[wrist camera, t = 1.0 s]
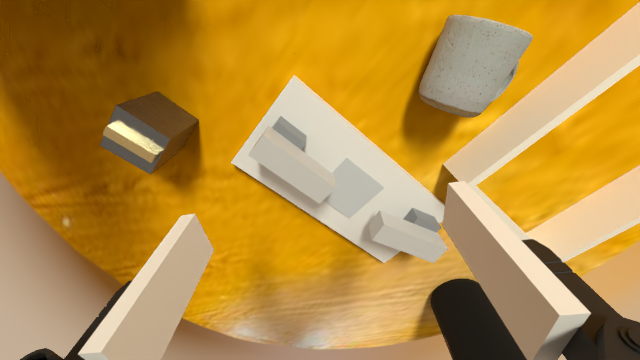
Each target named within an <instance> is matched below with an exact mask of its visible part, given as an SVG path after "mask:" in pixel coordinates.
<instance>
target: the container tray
mask: <svg viewBox="0 0 640 360" xmlns="http://www.w3.org/2000/svg"><path fill="white" fill-rule="evenodd" d="M639 65H640V2H639V3H637V4H636V5H635V6H634V7H633V8H631V9H630V10H629V11H628V12H627V13H625V14H624V15H623V16H622V17H621V18H619V19H618V20H617V21H616V22H614V23H613V24H612V25H611V26H610V27H608V28H607V29H606V30H605V31H604V32H602V33H601V34H600V35H599V36H597V37H596V38H595V39H594V40H593V41H591V42H590V43H589V44H588V45H587V46H585V47H584V48H583V49H582V50H581V51H579V52H578V53H577V54H576V55H574V56H573V57H572V58H571V59H570V60H568V61H567V62H566V63H565V64H564V65H562V66H561V67H560V68H559V69H557V70H556V71H555V72H554V73H553V74H551V75H550V76H549V77H548V78H547V79H545V80H544V81H543V82H542V83H541V84H539V85H538V86H537V87H536V88H534V89H533V90H532V91H531V92H530V93H528V94H527V95H526V96H525V97H524V98H522V99H521V100H520V101H519V102H517V103H516V104H515V105H514V106H513V107H511V108H510V109H509V110H508V111H507V112H505V113H504V114H503V115H502V116H501V117H499V118H498V119H497V120H496V121H494V122H493V123H492V124H491V125H490V126H488V127H487V128H486V129H485V130H484V131H482V132H481V133H480V134H479V135H477V136H476V137H475V138H474V139H473V140H471V141H470V142H469V143H468V144H467V145H465V146H464V147H463V148H462V149H461V150H459V151H458V152H457V153H456V154H454V155H453V156H452V157H451V158H450V159H448V160H447V161H446V162H445V163H444V164H443V165H444V166H445V167H446V168H447V169H448V170H449V172H450V173H451V174H452V175H453V176H454V177H455V178H456V179H457V180H458V181H459V182H460V181H465V182H466V183H467V184H468V186H469V187H470V188H471V189H472V190H473V191H474V192H475V193H476V194H477V195H478V196H479V197H480V198H481V199H482V200H483V201H484V202H485V203H486V204H487V205H488V206H489V207H490V208H491V209H492V210H493V212H494V213H495V214H496V215H497V216H498V217H499V218H500V219H501V220H502V221H503V222H504V223H505V224H506V225H507V226H508V227H509V228H510V229H511V230H512V231H513V232H514V233H515V234H516V235H517V237H518V238H519V239H520V240H527V239H534V240H536V241H538V242H539V243H541V244H543V245H544V246H546V247H548V248H549V249H551V250H552V251H553V252H554V253H555V254H556V255H557V256H558V257H559V258H560V259H561V260H562V262H565V261H567V260H569V259H571V258H573V257H575V256H577V255H579V254H580V253H582V252H584V251H586V250H588V249H590V248H592V247H594V246H596V245H598V244H600V243H602V242H604V241H605V240H607V239H609V238H611V237H613V236H615V235H617V234H619V233H621V232H623V231H625V230H627V229H629V228H631V227H632V226H634V225H636V224H638V223H640V165H639V166H637V167H635V168H634V169H632V170H630V171H629V172H627V173H625V174H624V175H622V176H620V177H619V178H617V179H615V180H614V181H612V182H610V183H609V184H607V185H605V186H604V187H602V188H600V189H599V190H597V191H595V192H594V193H592V194H590V195H589V196H587V197H585V198H584V199H582V200H580V201H579V202H577V203H575V204H574V205H572V206H570V207H569V208H567V209H565V210H564V211H562V212H560V213H559V214H557V215H555V216H554V217H552V218H550V219H549V220H547V221H545V222H544V223H542V224H540V225H539V226H537V227H535V228H534V229H532V230H530V231H529V232H527V233H525V232H524V231H523V230H522V229H521V228H520V227H519V226H518V225H517V224H515V223H514V222H513V221H512V220H511V219H510V218H509V217H508V216H507V215H506V214H505V213H504V212H503V211H502V210H501V209H500V208H499V207H498V206H497V205H496V204H495V203H494V202H493V201H492V200H490V199H489V198H488V197H487V196H486V195H485V194H484V193H483V192H482V191H481V190H480V189H479V188H478V187H477V186H476V185H478V184H479V183H480V182H482V181H483V180H484V179H486V178H487V177H488V176H490V175H491V174H493V173H494V172H495V171H497V170H498V169H499V168H501V167H502V166H503V165H505V164H506V163H507V162H509V161H510V160H512V159H513V158H514V157H516V156H517V155H518V154H520V153H521V152H522V151H524V150H525V149H526V148H528V147H529V146H530V145H532V144H533V143H535V142H536V141H537V140H539V139H540V138H541V137H543V136H544V135H545V134H547V133H548V132H549V131H551V130H552V129H554V128H555V127H556V126H558V125H559V124H560V123H562V122H563V121H564V120H566V119H567V118H568V117H570V116H571V115H573V114H574V113H575V112H577V111H578V110H579V109H581V108H582V107H583V106H585V105H586V104H587V103H589V102H590V101H592V100H593V99H594V98H596V97H597V96H598V95H600V94H601V93H602V92H604V91H605V90H606V89H608V88H609V87H611V86H612V85H613V84H615V83H616V82H617V81H619V80H620V79H621V78H623V77H624V76H625V75H627V74H628V73H629V72H631V71H632V70H634V69H635V68H636V67H638V66H639Z"/></svg>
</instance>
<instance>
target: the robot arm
mask: <svg viewBox="0 0 640 360" xmlns="http://www.w3.org/2000/svg"><path fill="white" fill-rule="evenodd" d="M442 226H443V227H444V229H445V230H446V232H447V233H448V235H449V237H450V238H451V240H452V241H453V243H454V245H455V246H456V248H457V249H458V251H459V252H460V254H461V256H462V257H463V259H464V260H465V262H466V264H467V265H468V267H469V268H470V270H471V272H472V273H473V275H474V276H475V278H476V279H477V281H478V283H479V284H480V286H481V287H482V289H483V291H484V292H485V294H486V295H487V297H488V299H489V300H490V302H491V303H492V305H493V306H494V308H495V310H496V311H497V313H498V314H499V316H500V318H501V319H502V321H503V322H504V324H505V326H506V327H507V329H508V330H509V332H510V333H511V335H512V337H513V338H514V340H515V341H516V343H517V345H518V346H519V348H520V349H521V351H522V353H523V354H524V356H525V357H526V359H527V360H558V358H559V357H560V355H561V354H563V355H564V356H565V358H566V359H567V360H640V323H639V322H637V321H633V320H630V319H626V318H623V317H622V316H621V315H619V314H618V313H617V312H616V311H615V310H614V309H613V308H612V307H611V306H610V305H608V304H607V303H606V302H605V301H604V300H603V299H602V298H601V297H600V296H599V295H598V294H597V293H596V292H595V291H594V290H593V289H591V287H590V286H588V285H587V284H586V283H585V282H584V281H583V280H582V279H581V278H580V277H579V276H578V275H577V274H576V273H573V272H572V269H571V268H569V267H568V266H567V265H566V264H565V263H563V262H562V260H561V259H560V258H559V257H558V256H557V255H556V254H555V253H554V252H553V251H552V250H551V249H549V248H548V247H546V246H544V245H543V244H541V243H539V242H538V241H536V240H534V239H527V240H520V239H519V238H518V237H517V235H516V234H515V233H514V232H513V231H512V230H511V229H510V228H509V227H508V226H507V225H506V224H505V223H504V222H503V221H502V220H501V219H500V218H499V217H498V216H497V215H496V214H495V213H494V212H493V210H492V209H491V208H490V207H489V206H488V205H487V204H486V203H485V202H484V201H483V200H482V199H481V198H480V197H479V196H478V195H477V194H476V193H475V192H474V191H473V190H472V189H471V188H470V187H469V186H468V184H467V183H466V182H465V181H460V182H452V183H448V188H447V195H446V202H445V209H444V216H443V223H442ZM213 251H214V249H213V247H212V245H211V243H210V241H209V239H208V238H207V236H206V234H205V232H204V230H203V228H202V226H201V224H200V222H199V220H198V218H197V216H196V215H195V214H189V215H181V217H180V218H179V219H178V221H177V222H176V223H175V225H174V226H173V227H172V229H171V230H170V231H169V233H168V234H167V235H166V237H165V238H164V239H163V241H162V242H161V243H160V245H159V246H158V247H157V249H156V250H155V251H154V253H153V254H152V255H151V257H150V258H149V259H148V261H147V262H146V263H145V265H144V266H143V267H142V269H141V270H140V271H139V273H138V274H137V275H136V277H135V278H134V279H133V281H128V282H127V283H126V284H125V285H124V286H123V287H122V288H120V289H119V290H118V291H117V292H116V293H115V295H114V296H113V297H112V298H111V300H110V301H109V302H108V304H107V306H106V307H104V309H103V310H102V311H101V312H100V314H99V317H97V318H96V319H95V320H94V322H93V323H92V324H91V325H90V327H89V328H88V329H87V330H86V332H85V333H84V334H83V336H82V337H81V338H80V339H79V341H78V342H77V343H76V345H75V346H74V347H73V348H72V350H71V351H70V352H69V354H68V355H67V356H66V357H65V358H64V359H63V358H61V357H60V356H58V355H57V354H55V353H54V352H53V351H51V350H49V349H46V348H44V349H40V350H36V351H34V352H32V353H30V354H28V355H26V356H25V357H23V358H22V359H20V360H161V359H162V357H163V355H164V353H165V350H166V348H167V346H168V344H169V342H170V340H171V338H172V336H173V334H174V332H175V330H176V328H177V326H178V324H179V322H180V319H181V317H182V315H183V313H184V311H185V309H186V307H187V305H188V303H189V301H190V299H191V297H192V295H193V293H194V290H195V288H196V286H197V284H198V282H199V280H200V278H201V276H202V274H203V272H204V270H205V268H206V266H207V264H208V261H209V259H210V257H211V255H212V253H213Z"/></svg>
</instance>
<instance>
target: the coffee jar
mask: <svg viewBox="0 0 640 360" xmlns="http://www.w3.org/2000/svg"><path fill="white" fill-rule="evenodd" d="M431 307H432V309H433V312H434V314H435V317H436V319H437V322H438V324H439V327H440V329H441V332H442V334H443V337H444V339H445V342H446V344H447V346H448V349H449V352H450V354H451V357H452V359H453V360H527V359H526V357H525V356H524V354H523V353H522V351H521V349H520V348H519V346H518V345H517V343H516V341H515V340H514V338H513V337H512V335H511V333H510V332H509V330H508V329H507V327H506V326H505V324H504V322H503V321H502V319H501V318H500V316H499V314H498V313H497V311H496V310H495V308H494V306H493V305H492V303H491V302H490V300H489V299H488V297H487V295H486V294H485V292H484V291H483V289H482V287H481V286H480V284H479V283H477V282H475V281H473V280H470V279H455V280H450V281H448V282H445V283H443V284H442V285H440V286H438V287H437V288H436V290H435V291H434V292H433V295H432V299H431Z"/></svg>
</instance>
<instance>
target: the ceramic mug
mask: <svg viewBox="0 0 640 360" xmlns="http://www.w3.org/2000/svg"><path fill="white" fill-rule="evenodd" d="M532 39H533V36H532V35H531V34H529V33H528V32H526V31H524V30H522V29H519V28H516V27H513V26H510V25H506V24H503V23H500V22H496V21H493V20H489V19H485V18H478V17H473V16H467V15H451V16H449V17H448V18H447V20H446V23H445V25H444V28H443V30H442V32H441V35H440V37H439V39H438V42H437V44H436V47H435V49H434V51H433V54H432V56H431V59H430V61H429V64H428V66H427V68H426V71H425V73H424V75H423V78H422V80H421V83H420V87H419V91H418V95H419V97H420V99H421V100H422V101H424V102H425V103H427V104H429V105H431V106H433V107H436V108H438V109H440V110H443V111H446V112H449V113H452V114H455V115H459V116H464V117H475V116H478V115H480V114H481V113H482V112H483V111H484V110H485V108H486V107H487V106H488V105H489V104H490V103H491V102H492V101H494V100H495V99H496V98H498V97H499V96H500V95H501V94H502V93H503V92H504V91H505V89H506V88H507V87H508V85H509V84H510V83H511V81H512V79H513V78H514V75H515V73H516V71H517V68H518V64H519V59H520V58H521V56H522V55H523V53H524V52H525V50H526V49H527V47H528V46H529V44H530V43H531V41H532Z"/></svg>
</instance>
